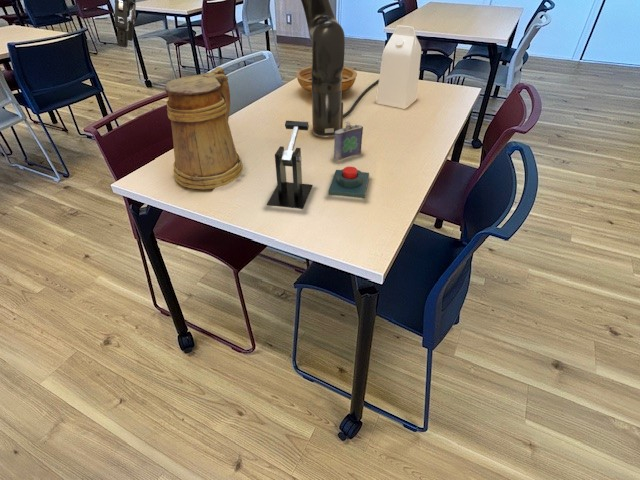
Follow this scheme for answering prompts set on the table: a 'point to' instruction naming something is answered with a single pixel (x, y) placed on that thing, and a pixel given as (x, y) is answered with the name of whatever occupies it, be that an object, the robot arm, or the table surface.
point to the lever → (292, 139)
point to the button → (349, 172)
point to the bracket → (289, 183)
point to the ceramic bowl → (306, 78)
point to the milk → (400, 69)
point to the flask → (348, 141)
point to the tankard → (202, 130)
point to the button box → (349, 185)
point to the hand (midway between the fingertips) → (125, 43)
